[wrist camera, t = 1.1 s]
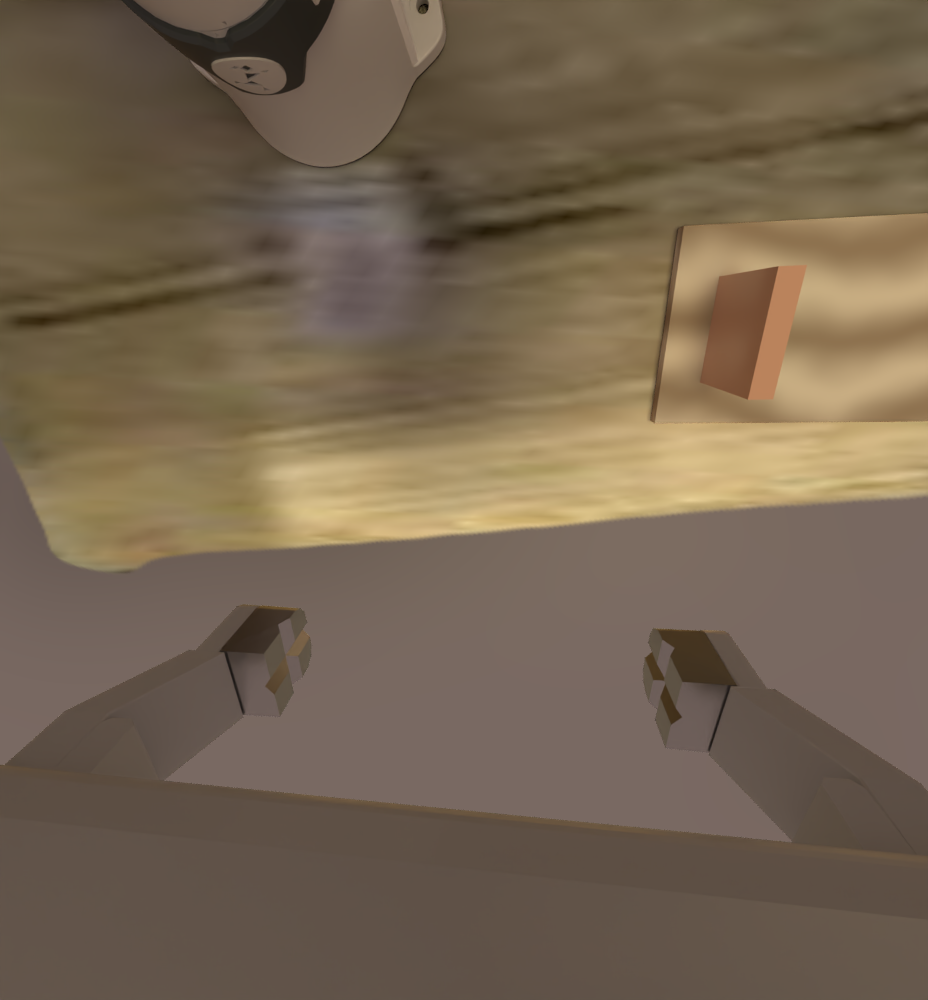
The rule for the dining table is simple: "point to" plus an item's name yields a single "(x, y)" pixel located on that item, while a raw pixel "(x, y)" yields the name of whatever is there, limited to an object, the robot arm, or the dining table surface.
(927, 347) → the board
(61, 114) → the dining table surface
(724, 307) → the tile
